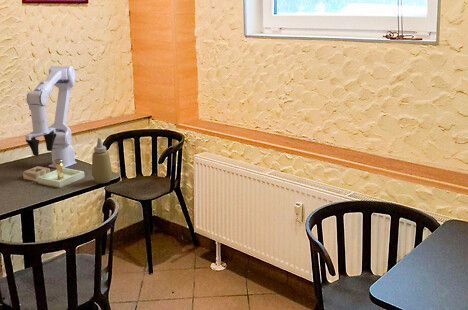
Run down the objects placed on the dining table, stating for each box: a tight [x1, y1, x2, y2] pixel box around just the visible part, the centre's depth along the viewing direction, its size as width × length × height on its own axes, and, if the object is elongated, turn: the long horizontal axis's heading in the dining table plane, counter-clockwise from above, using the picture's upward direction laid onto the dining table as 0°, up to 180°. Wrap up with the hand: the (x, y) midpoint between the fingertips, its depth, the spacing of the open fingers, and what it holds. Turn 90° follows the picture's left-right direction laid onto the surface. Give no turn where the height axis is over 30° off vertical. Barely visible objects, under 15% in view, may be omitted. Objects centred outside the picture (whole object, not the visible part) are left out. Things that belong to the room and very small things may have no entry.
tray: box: [36, 167, 86, 189], centre depth 226 cm, size 14×12×2 cm
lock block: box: [22, 165, 51, 182], centre depth 230 cm, size 8×7×3 cm
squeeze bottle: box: [91, 137, 113, 184], centre depth 222 cm, size 8×8×18 cm
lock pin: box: [55, 159, 64, 180], centre depth 225 cm, size 3×3×8 cm
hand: (42, 153), depth 227 cm, fingers open, 7 cm apart
